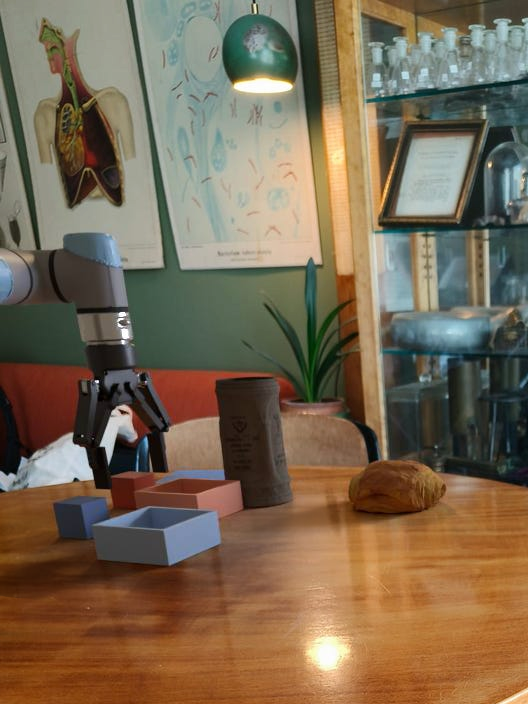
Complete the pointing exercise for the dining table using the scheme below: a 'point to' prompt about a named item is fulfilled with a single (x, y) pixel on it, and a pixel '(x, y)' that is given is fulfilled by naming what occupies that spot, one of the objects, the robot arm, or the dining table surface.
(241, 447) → the brown tall cylinder
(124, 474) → the red block
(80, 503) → the blue block
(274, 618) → the dining table surface
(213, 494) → the red bin
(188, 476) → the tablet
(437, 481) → the croissant
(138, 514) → the blue bin
